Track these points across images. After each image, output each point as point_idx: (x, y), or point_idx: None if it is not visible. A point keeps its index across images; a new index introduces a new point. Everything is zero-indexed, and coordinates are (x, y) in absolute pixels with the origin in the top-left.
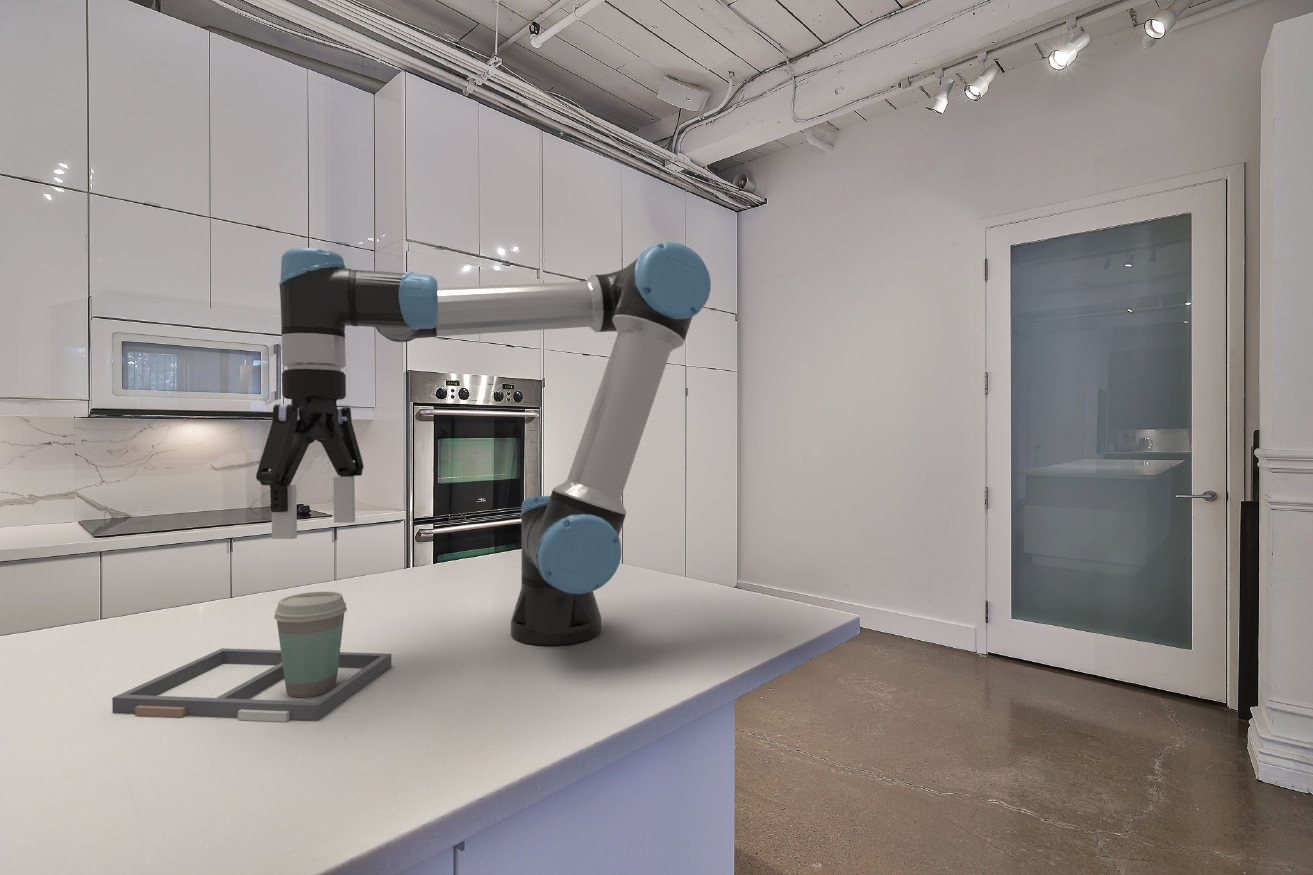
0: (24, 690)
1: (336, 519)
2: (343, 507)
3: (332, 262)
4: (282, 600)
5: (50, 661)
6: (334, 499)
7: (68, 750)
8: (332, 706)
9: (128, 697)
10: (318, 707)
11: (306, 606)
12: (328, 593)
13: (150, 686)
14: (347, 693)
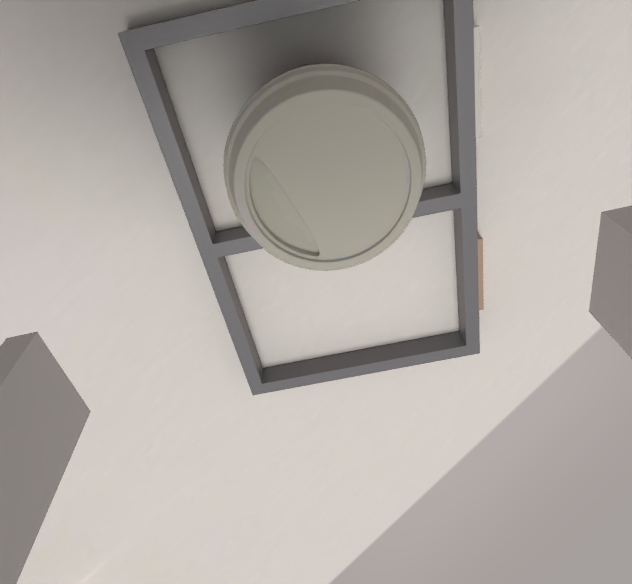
0: (423, 482)
1: (77, 414)
2: (24, 442)
3: None
4: (373, 249)
5: (335, 539)
6: (36, 527)
7: (591, 277)
8: None
9: (476, 334)
10: None
11: (410, 131)
12: (246, 194)
13: (421, 351)
14: None
